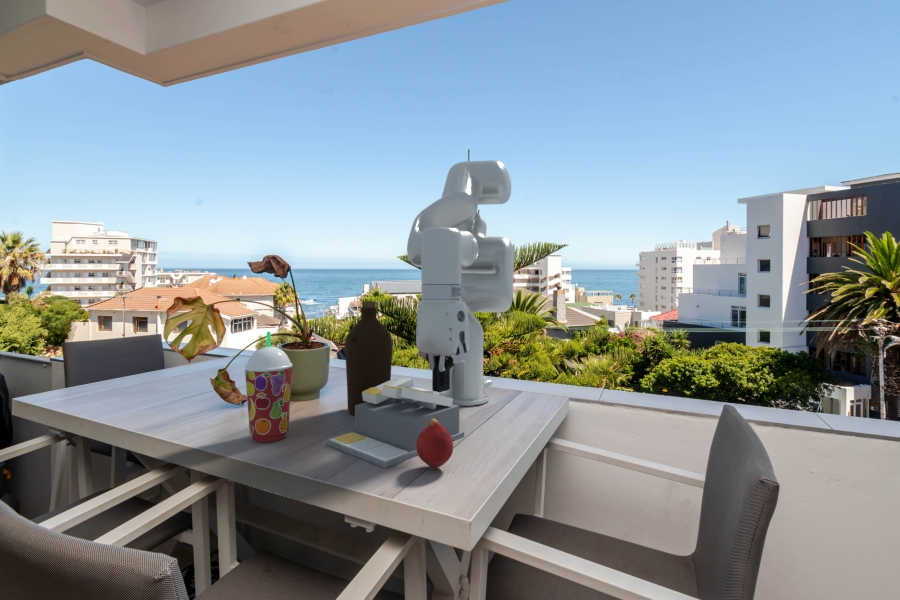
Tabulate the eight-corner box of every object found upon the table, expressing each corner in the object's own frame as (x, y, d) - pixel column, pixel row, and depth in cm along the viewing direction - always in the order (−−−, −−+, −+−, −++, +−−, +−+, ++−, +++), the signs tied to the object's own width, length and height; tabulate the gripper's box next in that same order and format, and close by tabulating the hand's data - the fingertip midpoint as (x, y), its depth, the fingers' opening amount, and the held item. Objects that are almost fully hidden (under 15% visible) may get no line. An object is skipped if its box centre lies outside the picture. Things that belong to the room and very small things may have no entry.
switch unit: (406, 419, 98) (406, 385, 98) (464, 436, 88) (464, 398, 87) (326, 444, 83) (326, 403, 83) (385, 468, 73) (385, 422, 72)
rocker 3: (435, 408, 89) (438, 394, 89) (450, 412, 86) (453, 397, 87) (399, 402, 81) (403, 386, 82) (414, 406, 79) (418, 389, 79)
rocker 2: (417, 401, 92) (419, 387, 92) (431, 404, 89) (433, 390, 90) (380, 400, 84) (382, 385, 85) (394, 404, 82) (396, 388, 82)
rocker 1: (401, 387, 95) (399, 374, 95) (414, 390, 93) (412, 377, 92) (363, 405, 88) (361, 391, 87) (376, 409, 85) (374, 395, 85)
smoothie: (278, 427, 92) (277, 328, 91) (301, 436, 87) (301, 331, 86) (236, 438, 86) (235, 332, 85) (259, 449, 80) (258, 335, 80)
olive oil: (389, 417, 99) (390, 302, 98) (340, 417, 99) (340, 302, 98) (394, 404, 110) (394, 300, 109) (349, 404, 110) (349, 300, 109)
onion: (442, 459, 76) (443, 411, 76) (459, 471, 71) (460, 421, 71) (410, 465, 74) (410, 416, 73) (426, 479, 69) (426, 426, 68)
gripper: (485, 294, 84) (484, 393, 85) (426, 292, 94) (425, 381, 95) (459, 296, 78) (459, 401, 79) (399, 293, 88) (399, 387, 89)
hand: (441, 390), depth 87 cm, fingers closed
